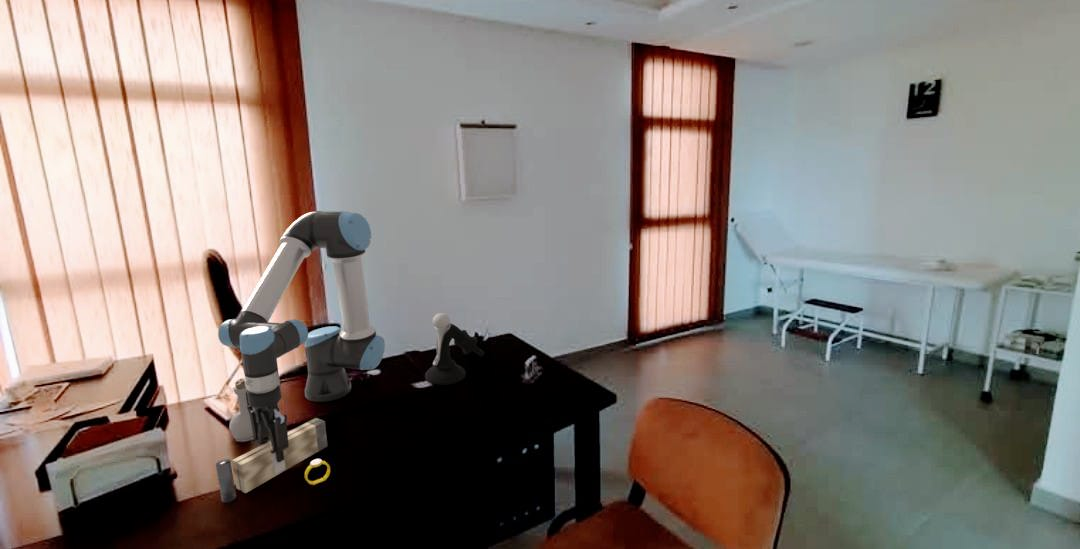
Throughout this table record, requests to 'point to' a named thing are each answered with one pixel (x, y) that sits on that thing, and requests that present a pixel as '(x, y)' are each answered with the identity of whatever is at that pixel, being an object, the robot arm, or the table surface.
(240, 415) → the potion bottle
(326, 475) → the gold ring
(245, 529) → the table surface
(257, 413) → the robot arm
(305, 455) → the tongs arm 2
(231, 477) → the post
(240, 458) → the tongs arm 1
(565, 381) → the table surface
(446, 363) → the sculpture
